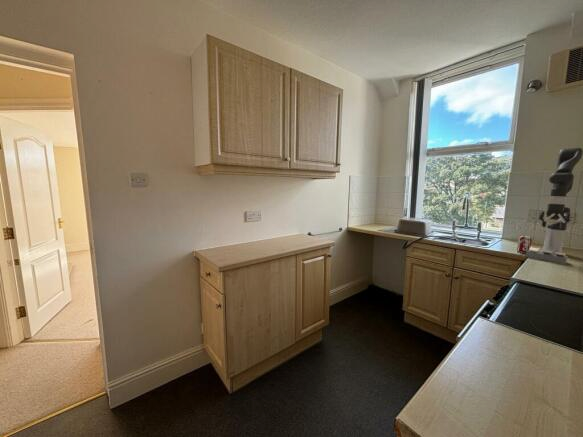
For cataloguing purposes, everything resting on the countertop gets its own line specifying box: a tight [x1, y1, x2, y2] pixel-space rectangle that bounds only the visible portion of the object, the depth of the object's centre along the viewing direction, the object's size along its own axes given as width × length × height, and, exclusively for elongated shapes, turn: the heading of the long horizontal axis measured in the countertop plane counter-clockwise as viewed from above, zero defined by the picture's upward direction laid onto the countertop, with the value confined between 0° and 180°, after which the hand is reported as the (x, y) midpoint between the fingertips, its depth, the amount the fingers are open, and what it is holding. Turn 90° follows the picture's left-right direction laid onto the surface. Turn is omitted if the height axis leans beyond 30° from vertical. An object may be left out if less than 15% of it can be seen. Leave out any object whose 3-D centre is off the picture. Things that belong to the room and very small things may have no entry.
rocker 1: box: [529, 245, 540, 252], centre depth 162 cm, size 6×4×1 cm, turn 126°
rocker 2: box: [555, 252, 567, 256], centre depth 153 cm, size 6×4×1 cm, turn 127°
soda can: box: [516, 235, 533, 254], centre depth 173 cm, size 7×7×12 cm
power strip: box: [525, 250, 569, 266], centre depth 158 cm, size 8×18×5 cm, turn 37°
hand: (552, 227), depth 161 cm, fingers open, 8 cm apart
